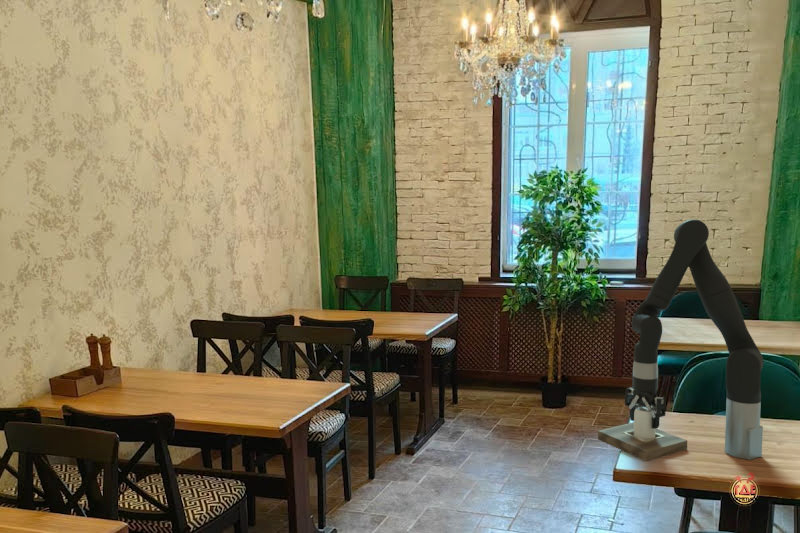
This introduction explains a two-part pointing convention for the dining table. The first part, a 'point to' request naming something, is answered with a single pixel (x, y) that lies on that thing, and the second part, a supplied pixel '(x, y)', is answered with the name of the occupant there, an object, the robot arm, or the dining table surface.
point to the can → (643, 423)
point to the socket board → (642, 442)
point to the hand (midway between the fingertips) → (644, 424)
